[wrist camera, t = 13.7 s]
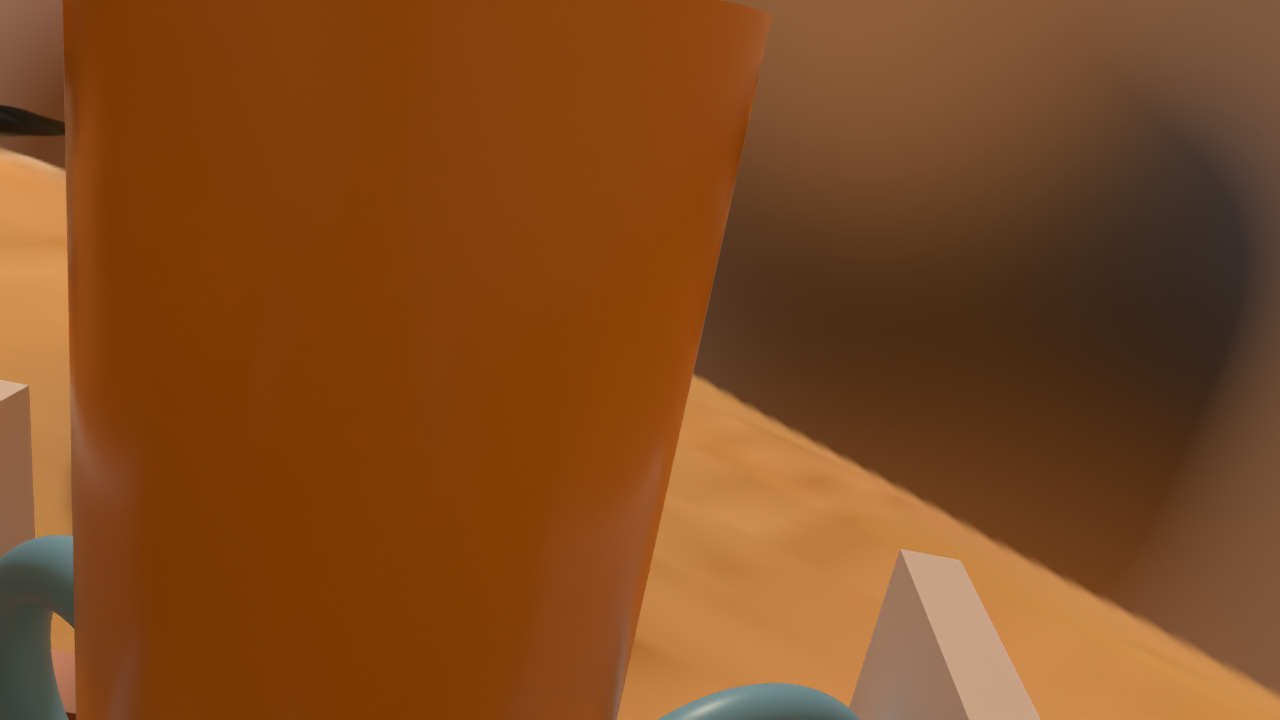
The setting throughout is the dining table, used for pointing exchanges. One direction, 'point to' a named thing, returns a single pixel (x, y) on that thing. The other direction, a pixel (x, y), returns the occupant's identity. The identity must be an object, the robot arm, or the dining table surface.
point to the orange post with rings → (379, 354)
